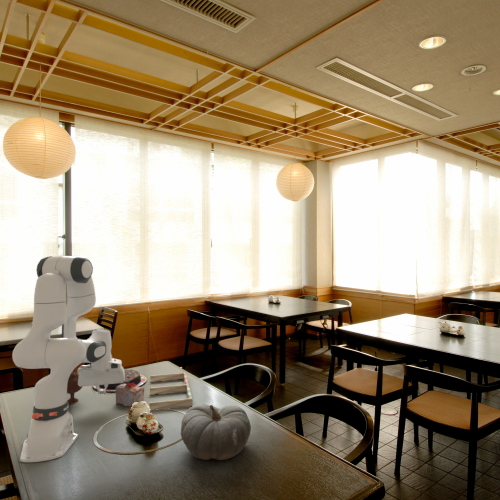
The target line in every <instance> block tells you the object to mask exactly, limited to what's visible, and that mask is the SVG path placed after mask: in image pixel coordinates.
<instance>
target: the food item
mask: <svg viewBox="0 0 500 500" xmlns="http://www.w3.org/2000/svg"><path fill="white" fill-rule="evenodd" d="M144 398H145V387H141V386H139V387H138V386H136V384H134V383H128V384H121V385H119V386H117V387H116V392H115V404H119V405H123V407H131V406H132V404H133V403H134V402H138V401H145V400H144Z"/></svg>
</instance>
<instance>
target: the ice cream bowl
mask: <svg viewBox="0 0 500 500" xmlns="http://www.w3.org/2000/svg"><path fill="white" fill-rule="evenodd" d="M78 378H79V375H78V372H75V371H74V370H73V371H72V372H71V374H70V376H69V379H68V384H67V394H68V395H70V397H69V399H67V400H68V404H69V405H73V404H77V403H78V402H79V399H78V398H76V397H75V393H78V392H79V391H81V389H83V387H84V386H82V387H80V386H79V385H78Z"/></svg>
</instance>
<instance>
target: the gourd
mask: <svg viewBox="0 0 500 500" xmlns="http://www.w3.org/2000/svg"><path fill="white" fill-rule="evenodd" d="M180 426H181V427H180V438H181V439H182V442H183V444H184V445H185V447H186V449H187V451H188V452H189V453H190V454H191V455H192V456H193V457H195V458H197V459H201V460H204V461H208V460H211V459H215V460H218V461H224V460H225V461H226V460H228V459H231V458H233V457H235V456H236V455H238V454H239V453H241V451H242V450H244V448H245V447H246V444H247V443H248V440H249V437H250V435H251V430H252V427H251V426H252V425H251V422H250V419H249V417H248V415H247V412H246V410H245V409H243V408H241V406H238V405H225V406H223V407H218V408H217V407H216V406H214V405H213V404H194V405H192V407H188V410H187V411H186V412H185V414H184V415H183V417H182V420H181V425H180Z"/></svg>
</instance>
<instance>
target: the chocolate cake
mask: <svg viewBox="0 0 500 500" xmlns="http://www.w3.org/2000/svg"><path fill="white" fill-rule="evenodd" d="M124 373H125V381H124V382H123V383H116V384H108V387H107V388H106V393H116V387H117V386H119V385H121V384H128V383H134V384H136V386H138V387H141V386H143V385H145V384H146V383H147V377H146V376H144V375H143V374H141V373H140V372H138V370H135V369H128V368H124ZM144 383H145V384H144ZM92 388H93V389H95V390H97V388H96V385H93V386H92ZM99 388H100V389H104V388H105V387H104V385H100V386H99ZM97 391H98V390H97Z"/></svg>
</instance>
